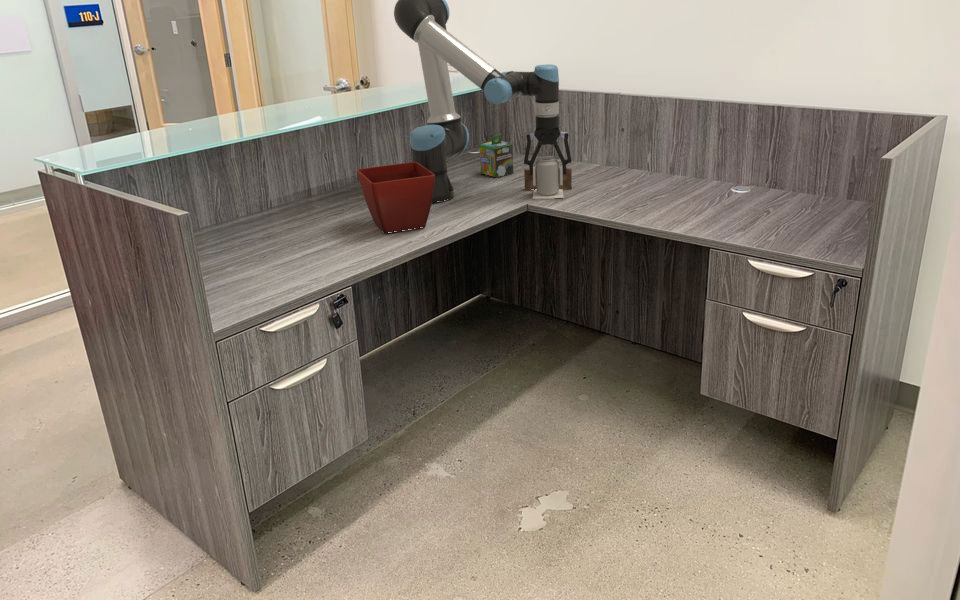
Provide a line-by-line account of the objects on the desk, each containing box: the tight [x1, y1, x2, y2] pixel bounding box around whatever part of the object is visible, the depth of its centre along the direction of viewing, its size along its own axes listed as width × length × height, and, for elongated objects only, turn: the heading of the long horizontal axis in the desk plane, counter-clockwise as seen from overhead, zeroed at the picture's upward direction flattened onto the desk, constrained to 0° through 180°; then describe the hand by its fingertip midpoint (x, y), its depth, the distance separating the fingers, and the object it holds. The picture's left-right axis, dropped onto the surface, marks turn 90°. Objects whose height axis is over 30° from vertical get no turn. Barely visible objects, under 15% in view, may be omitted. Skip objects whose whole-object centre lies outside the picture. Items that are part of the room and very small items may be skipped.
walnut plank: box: [523, 167, 573, 191], centre depth 261 cm, size 16×2×7 cm, turn 85°
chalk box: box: [479, 133, 514, 178], centre depth 282 cm, size 9×9×15 cm
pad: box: [532, 189, 564, 200], centre depth 255 cm, size 10×10×1 cm
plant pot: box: [356, 161, 435, 234], centre depth 228 cm, size 19×19×17 cm
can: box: [535, 155, 560, 196], centre depth 252 cm, size 8×8×12 cm
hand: (547, 184), depth 253 cm, fingers open, 8 cm apart
